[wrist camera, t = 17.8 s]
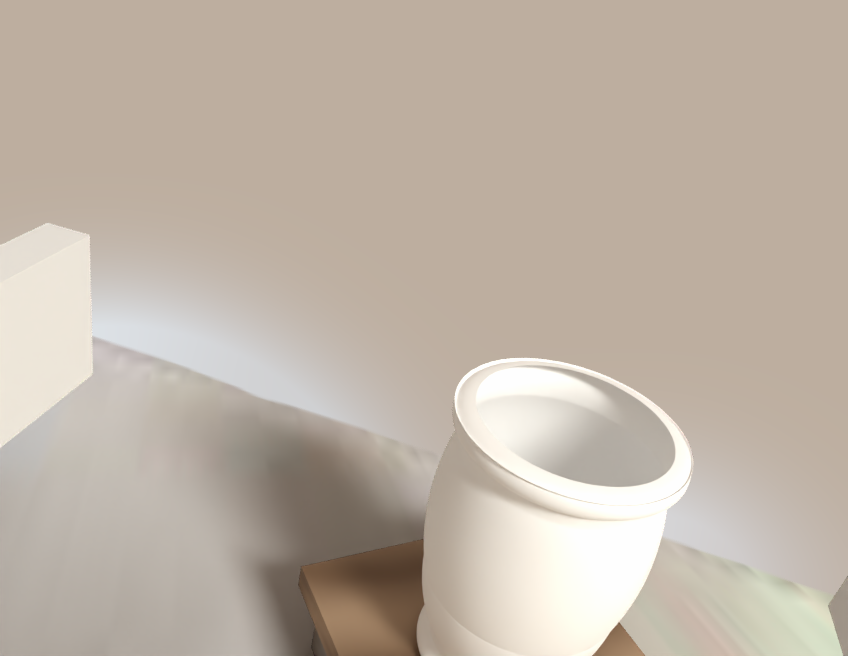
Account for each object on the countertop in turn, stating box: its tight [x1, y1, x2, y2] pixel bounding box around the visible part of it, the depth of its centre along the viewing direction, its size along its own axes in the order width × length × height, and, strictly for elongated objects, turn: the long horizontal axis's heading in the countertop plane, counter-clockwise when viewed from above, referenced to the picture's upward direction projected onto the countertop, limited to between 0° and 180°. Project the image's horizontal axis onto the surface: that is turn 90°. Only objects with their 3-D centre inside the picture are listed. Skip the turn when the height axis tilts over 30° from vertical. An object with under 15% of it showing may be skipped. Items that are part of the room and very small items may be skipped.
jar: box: [417, 358, 694, 656], centre depth 36 cm, size 11×10×15 cm
